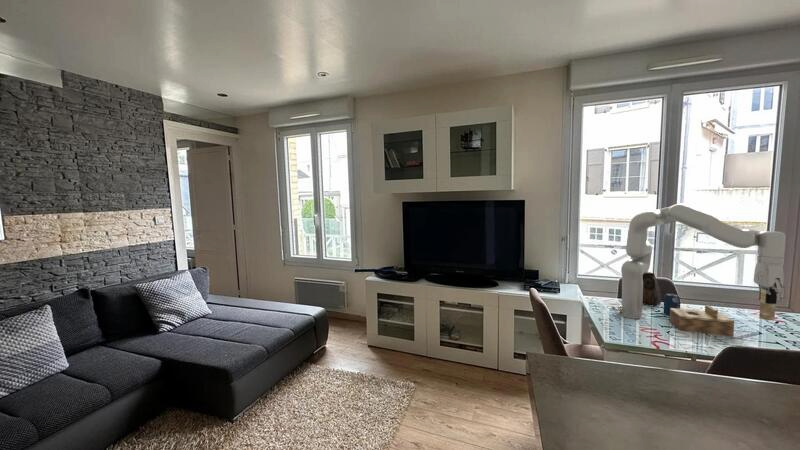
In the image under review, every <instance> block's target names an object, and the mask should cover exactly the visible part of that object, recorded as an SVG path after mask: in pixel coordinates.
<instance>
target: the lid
mask: <svg viewBox="0 0 800 450" xmlns="http://www.w3.org/2000/svg"><path fill="white" fill-rule="evenodd" d="M670 310H671V311H672V312H674V313H675V314H676V315H677V316H678V317H680V318H686V319H697V320H707V321H718V322H729V323H734V324H735V320H734V319H732V318H730V317H729V316H727V315H726V314H724V313H723V312H720V311H718V310H717V309H715V308H714V307H712V306H710V305H705V306H704V310H701V309H687V308H680V309H677V308H670ZM691 314H696V315H691Z"/></svg>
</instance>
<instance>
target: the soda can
mask: <svg viewBox="0 0 800 450" xmlns="http://www.w3.org/2000/svg"><path fill="white" fill-rule="evenodd" d="M670 308H677V309H681V297H680V295H679V294H676V293H672V292H668V293H667V292H666V293H665V294H664V296H663V314H664V315H666V316H670Z"/></svg>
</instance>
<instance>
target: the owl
mask: <svg viewBox="0 0 800 450" xmlns="http://www.w3.org/2000/svg"><path fill="white" fill-rule="evenodd" d="M642 278H643V304H644V303H645V304H644V305H646V304H648V306H651V305H653V306H652V307H658V306H659V305H661V304H660V303H662V295H661V290H660V286H659V284H658V283H659V282H658V279H657V277H656V275H655V273H653V272H650V271H649V270H648V271H647V272H646V273H645V274H642Z"/></svg>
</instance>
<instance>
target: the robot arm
mask: <svg viewBox="0 0 800 450" xmlns="http://www.w3.org/2000/svg"><path fill="white" fill-rule="evenodd" d="M676 222H677V223H680V224H683V225H685V226H687V227H690V228H692V229H695V230H696V231H699V232H702V233H703V234H706V235H708V236H710V237H712V238H714V239H716V240H718V241H720V242H723V243H726V244H728V245H731V246H733V247H736V248H739V249H748V248H751V247H757V256H756V264H755V267H754V268H755V269H754V273H753V282H754V283H755V284H757V286H758V287H759V288H758V292H759V298H758V300H759V301H760V297H761V288H760V286H764V287H767V294H766V300H765V303H768V304H775V305H777V299H778V295H779V293H780V292H782V288H783V287H784V280H785V279H784V278H785V277H784V265H785V250H786V237H787V236H786V233H784V232H782V231H773V230H763V231H761V230H754V229H740V228H738V227H735V226H732V225H730V224H727V223H725V222H723V221H721V220H720V219H718V218H717V216H715V215H713V214H709V213H707V212H705V211H702V210H699V209H695V208H693V207H692V206H691V205H690V204H687V203H676V204H673V205H671V206H667V207H663V208H659V209H654V210H653V209H651V210H647V211H643V212H640V213H638V214H636V215H634V216H633V217H632V219H631V220H630V222H629V226H628V234H627V240H626V247H625V252H626V255H627V256H629V257H630V259H627V260H626V261H625V262H624V263H623V264H622V265H621V271H620V272H621V304H619V306H614V305H612V306H611V307H610V308H611V310H612V311H613V310H614V311H615V312H617V314H618V315H619V314H620V315H619V316H621V317H623V316H624V318H627V319H632V320H641V318H643V319H644V318H645V317H647V316H646V313H643V304H644V303H643V278H642V274H645V273H646V272H647V271H648V272H649V270H650V266H651V261H652V253H653V245H652V244H651V243H650V242H649V241H648V233H649V231H648V229H649V228H652V227H658V226H662V225H666V224H673V223H676ZM771 289H772V290H771Z"/></svg>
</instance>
